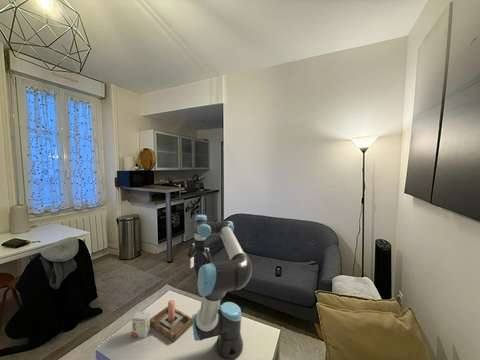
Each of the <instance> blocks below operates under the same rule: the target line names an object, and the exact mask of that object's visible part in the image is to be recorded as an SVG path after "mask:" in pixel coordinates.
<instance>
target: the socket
mask: <svg viewBox="0 0 480 360" xmlns="http://www.w3.org/2000/svg"><path fill="white" fill-rule="evenodd" d="M182 322H183V317H182V316H180V315H178V314H177V313H175V321H174V322H173V323H171V324H170V323H169V322H168V315H166V316H165V317H164V318H162V319H161V320H160V321H159V324H161V325H162V326H164V327H165V328H167V329H169V330H170V331H173V330H174V329H175V328H176V327H178V326H179V325H180V324H181V323H182Z"/></svg>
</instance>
